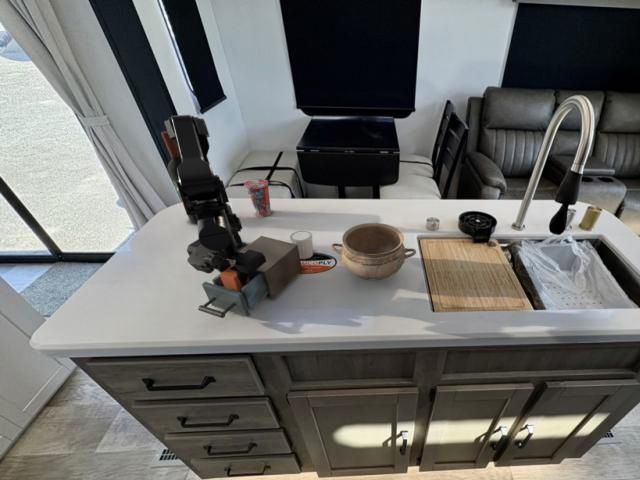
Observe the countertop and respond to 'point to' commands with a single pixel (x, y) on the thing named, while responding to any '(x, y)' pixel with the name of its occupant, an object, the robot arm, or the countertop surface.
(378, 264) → the cooking pot
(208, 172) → the robot arm
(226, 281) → the block
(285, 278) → the cabinet
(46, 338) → the countertop surface
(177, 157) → the wine bottle
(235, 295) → the drawer
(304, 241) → the white short cylinder
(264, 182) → the cup
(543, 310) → the countertop surface
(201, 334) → the countertop surface
